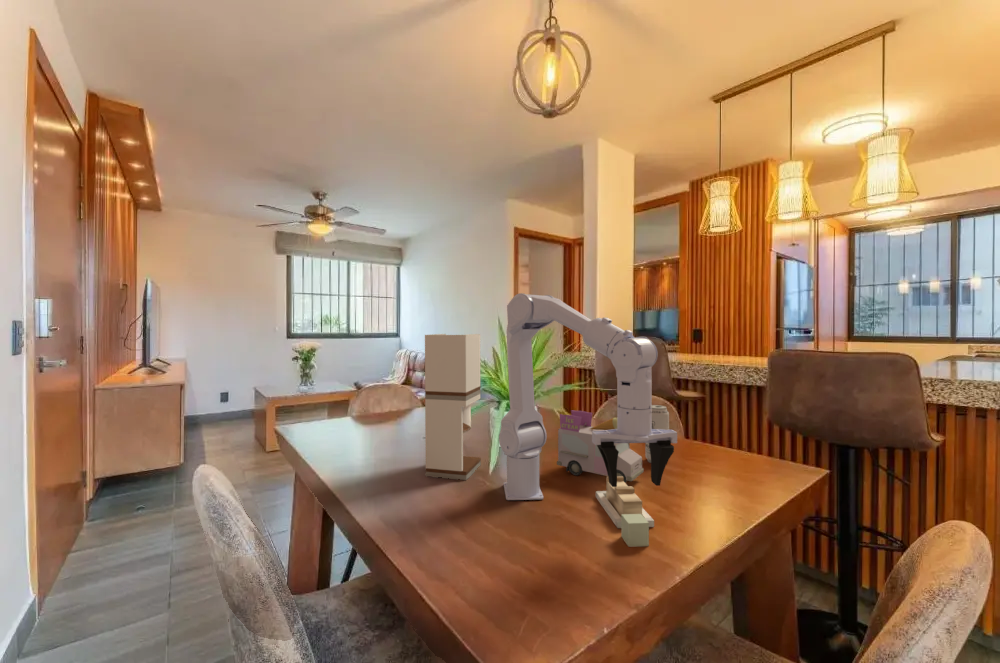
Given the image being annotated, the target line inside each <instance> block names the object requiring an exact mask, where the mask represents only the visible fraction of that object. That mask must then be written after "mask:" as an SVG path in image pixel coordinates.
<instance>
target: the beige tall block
mask: <svg viewBox="0 0 1000 663" xmlns="http://www.w3.org/2000/svg"><path fill="white" fill-rule="evenodd" d="M424 390H425V391H424V398H425V400H424V404H425V406H424V409H425V412H424V416H425V417H424V418H425V419H424V420H425V421H424V422H425V425H424V426H425V429H424V430H425V431H424V433H425V440H424V442H425V477H427V476H433V477H432V478H438V477H442V478H441V479H448V478H449V480H458V479H460V480H459V481H467V480H469V478H470V477H471V476H472V475H473V474H474V473H475V472H476V471H477V470H478V469H479V468H480V467H479V466H481V464H482V463H481V462H482V461H481V457H480V456H479V457H478V456H477V457H476V456H467V455H466V456H465V455H464V433H468V432H469V431H470V430H471V429H472V426H471V425H472V420H471V419H472V418H471V417H472V408H471V407H472V404H474V403H475V402H477V401H479V400H481V333H474V334H473V333H471V334H446V333H435V334H434V333H433V334H424ZM478 467H479V468H478ZM477 468H478V469H477ZM475 470H476V471H475Z"/></svg>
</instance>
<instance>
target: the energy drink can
mask: <svg viewBox="0 0 1000 663" xmlns="http://www.w3.org/2000/svg"><path fill="white" fill-rule="evenodd" d="M667 408H668V407H667V406H666V405H660V404H652V429H663V430H670V412H669V411H668V409H667ZM644 444H645V446H644V447H645V449H644V450H645V459H647V462H648V463H650V464H651V454H650V447H649V443H644Z"/></svg>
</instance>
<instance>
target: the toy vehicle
mask: <svg viewBox="0 0 1000 663" xmlns="http://www.w3.org/2000/svg"><path fill="white" fill-rule="evenodd" d="M570 412H571V414H561V413H560V414H559V425H560V426H559V427H560V428H558V431H557V435H558V436H557V442H558V443H557V446H558V447H557V448H558V450H557V452H558V453H557V454H558V455H557V457H558V460H557V461H556V465H557V466H560V467H565V469H566V472H570V473H571V475H574V476H575V477H576V476H577V477H578V476H580V475H581V474H582V473H584V472H588V473H592V474H597V475H601V476H606V477H608V473H607V469H606V466H605V463H604V460H603V458H602V455H601V453H600V451H599V449H598V447H597V445H595V444H594V443H593V442H592V431H603V430H611V429H617V417H612V418H610V419H608V420H605V421H603V422H601V423H598V424H597V425H595V426H592V423H593V422H592V420H593V412H587V411H584V410H583V411H582V410H574V409H573V410H570ZM630 444H631V443H614V446H616V449H617V450H618V451H619V453H618V459H617V476H623V477H624V482H625V483H626V484H627V482H628V481H629V482H632V481H634V480H635V479H637V478H638V477H639V476H641V474H643V473H644V472H645V471H644V470H645V468H644V467H643V457H642V455H640V454H639V453H637V452H635V451H634V450H632V449H631V448H630V447H631V446H630Z"/></svg>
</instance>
